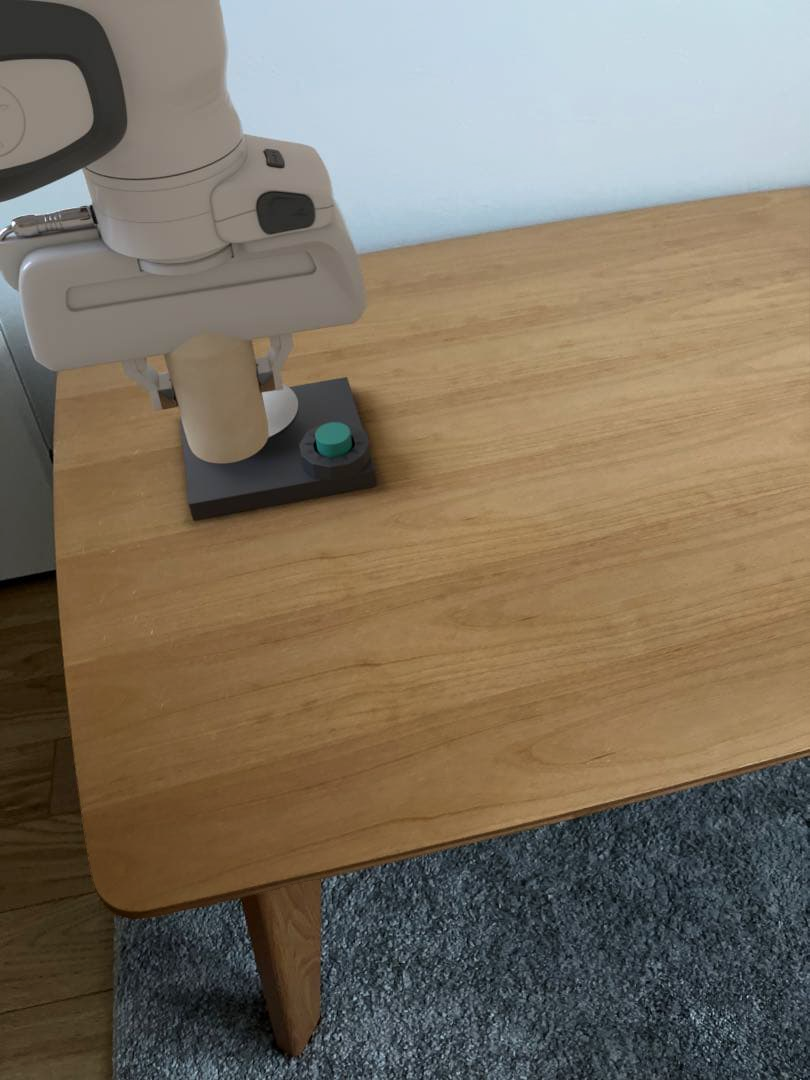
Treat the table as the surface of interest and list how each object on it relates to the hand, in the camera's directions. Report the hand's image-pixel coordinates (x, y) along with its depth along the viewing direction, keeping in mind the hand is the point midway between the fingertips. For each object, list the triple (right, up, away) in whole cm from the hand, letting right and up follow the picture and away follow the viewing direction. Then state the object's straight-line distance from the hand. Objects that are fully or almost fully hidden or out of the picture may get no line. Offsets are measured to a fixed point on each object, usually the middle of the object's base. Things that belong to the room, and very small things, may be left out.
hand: (220, 394), depth 66 cm
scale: (0, -2, +26) cm, 26 cm away
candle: (0, -3, +3) cm, 4 cm away
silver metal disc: (-2, +2, +24) cm, 25 cm away
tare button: (+6, -1, +21) cm, 22 cm away
